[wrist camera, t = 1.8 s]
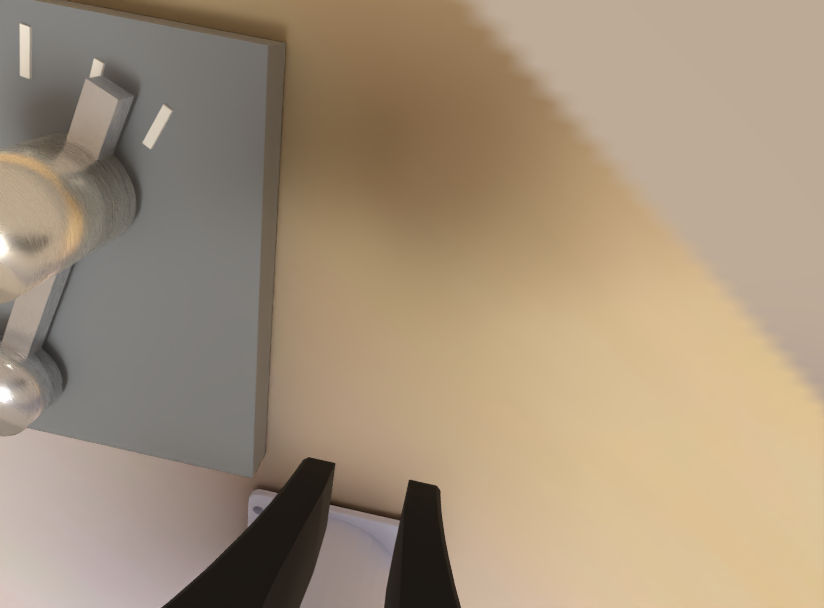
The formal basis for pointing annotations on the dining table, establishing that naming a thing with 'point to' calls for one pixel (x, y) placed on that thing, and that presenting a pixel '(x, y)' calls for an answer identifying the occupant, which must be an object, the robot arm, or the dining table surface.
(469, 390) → the dining table surface
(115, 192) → the lever
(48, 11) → the dial board
